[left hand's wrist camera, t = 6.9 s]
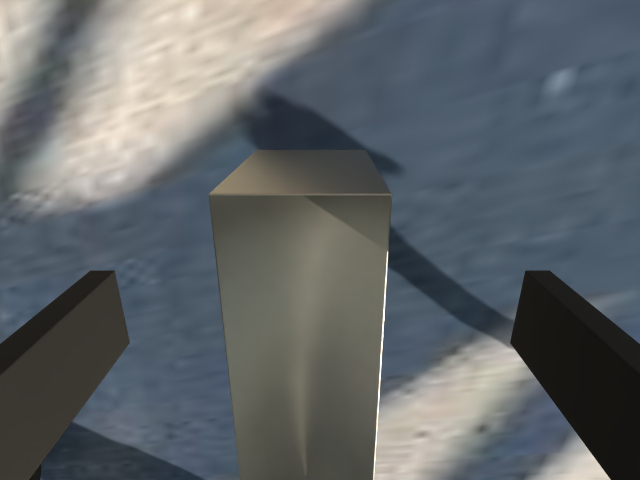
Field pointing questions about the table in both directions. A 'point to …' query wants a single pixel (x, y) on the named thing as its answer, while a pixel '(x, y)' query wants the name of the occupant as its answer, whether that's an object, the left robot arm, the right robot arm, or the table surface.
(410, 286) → the table surface
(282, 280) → the bar
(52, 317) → the left robot arm
